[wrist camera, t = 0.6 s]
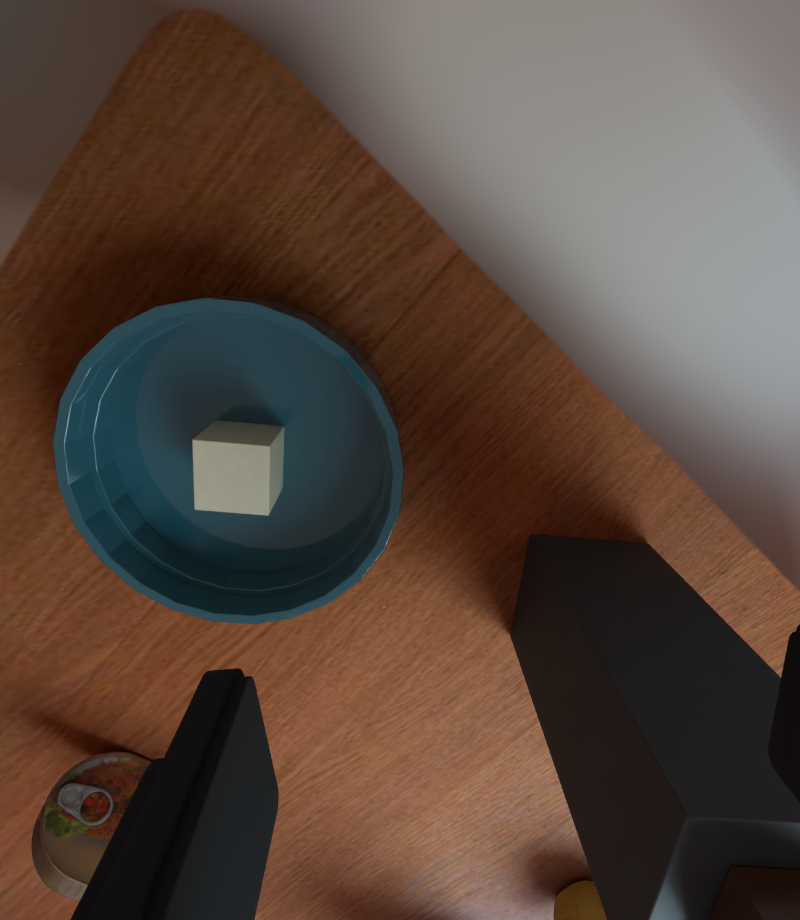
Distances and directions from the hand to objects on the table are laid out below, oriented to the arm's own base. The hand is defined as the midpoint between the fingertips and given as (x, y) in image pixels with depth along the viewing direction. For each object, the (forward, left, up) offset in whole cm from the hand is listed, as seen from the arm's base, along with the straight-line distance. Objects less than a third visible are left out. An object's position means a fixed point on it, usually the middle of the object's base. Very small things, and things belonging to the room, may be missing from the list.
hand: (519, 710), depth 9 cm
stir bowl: (+4, -10, -23) cm, 26 cm away
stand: (+12, +12, -23) cm, 29 cm away
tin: (+32, -16, -24) cm, 43 cm away
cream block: (+4, -10, -23) cm, 25 cm away
